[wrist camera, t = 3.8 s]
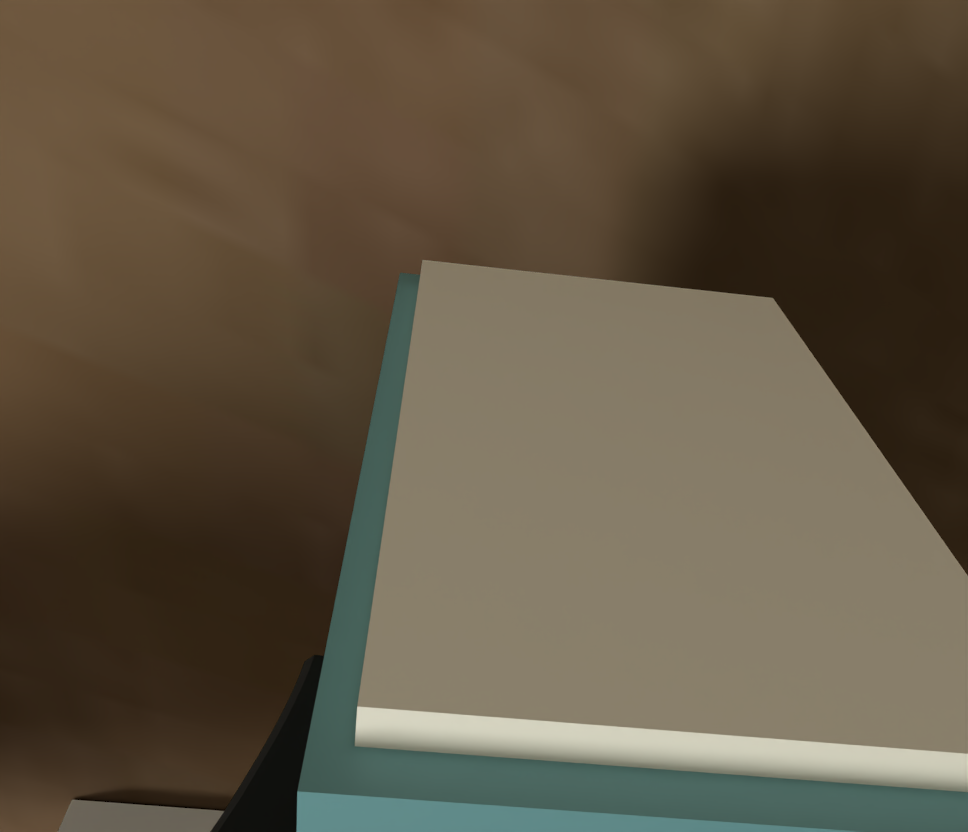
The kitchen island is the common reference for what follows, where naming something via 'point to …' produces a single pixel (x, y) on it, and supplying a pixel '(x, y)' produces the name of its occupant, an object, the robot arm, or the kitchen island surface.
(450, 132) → the kitchen island surface
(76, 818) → the shelf board
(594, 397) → the small book
